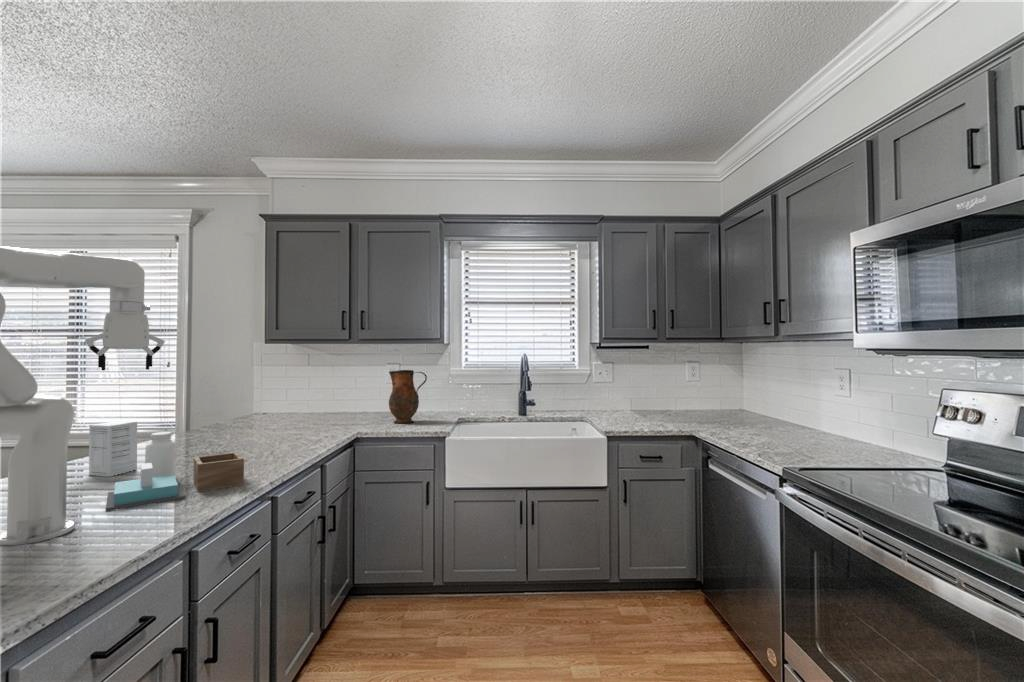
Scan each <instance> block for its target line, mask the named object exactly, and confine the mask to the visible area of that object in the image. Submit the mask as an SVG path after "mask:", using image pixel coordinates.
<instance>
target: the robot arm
mask: <svg viewBox="0 0 1024 682" xmlns="http://www.w3.org/2000/svg"><path fill="white" fill-rule="evenodd" d="M1 287H2V288H3V287H4V288H36V289H37V288H38V289H42V288H43V289H45V288H46V289H82V288H83V289H84V288H85V289H86V288H96V289H104V288H105V289H109V312H106V313H105V316H104V321H103V327H102V328H103V330H102V333H100V334H97V335H94V336H91V337H89V338H86V339H85V340H84V342H85V344H86V345H87V347H88V348H89V349H90V351H92V352H93V353H94V354H96V355H97V356H98V359H97V360H98V361H97V363H98V364H97V367H98V368H101V371H105V370H106V360H107V359H106V358H107V357H106V355H105V353H106V352H108V351H109V350H143V351H144V352H145V353H146V356H145V370H148V371H149V370H150V367H151V368H152V367H153V356H154V355H155V354H156V353H158V351H160V350H161V349H162V348H163V345H164V344H165V340H164V339H161V338H159V337H157V336H155V335H152V334H150V325H149V318H148V315H147V314H145V312H148V311H151V305H146V304H145V270H144V268H143V267H142V266H141V265H140V264H138V263H137V262H136V261H134V260H132V259H126V258H118V257H107V256H96V255H85V254H78V253H69V252H61V251H60V252H59V251H58V252H57V251H50V250H49V251H47V250H39V249H31V248H21V247H14V246H13V247H12V246H11V247H10V246H4V245H3V246H0V288H1ZM6 307H7V306H6V300H5V298H4V296H3V293H1V292H0V327H1V326H2V323H3V319H4V316H5V313H6ZM101 339H102V346H103V347H101V349H100V348H98V347H97V346H96V345H95V344H94V342H96V341H99V340H101ZM150 340H151V341H153V342H156V343H157V344H156V346H155V347H154V348H153V349H151V348H149V346H150ZM38 390H39V389H38V383H37V380H36V378H35V377H34V376H33V374H32V373H31V372H30V371H29V370H28V369H27V368H26V367H25V366H24V365H23V364H22V363H21V362H20V361H19V360H18V358H16V356H15V355H13V354H12V353H11V351H9V350H8V348H7V347H6V346H5V345H4V343H3V342H2V341H1V339H0V438H18V439H19V440H18V442H17V443H16V444H15V446H14V448H13V449H12V451H10V454H9V456H8V457H9V458H8V463H7V500H6V501H7V502H6V503H7V505H6V507H7V511H6V512H7V514H6V530H5V531H2V532H1V533H0V545H1V546H21V545H26V544H28V545H29V544H33V543H38V542H43V541H47V540H51V539H54V538H58V537H60V536H63V535H66V534H68V533H69V532H71V531H73V530H74V529H75V528H76V527H75V526H76V523H75V521H73V520H71V519H67V487H68V486H67V482H68V480H67V479H68V449H69V448H68V446H69V438H70V433H71V430H72V425H73V423H74V419H75V410H74V407H73V405H72V403H71V402H70V401H69V400H67V399H66V398H63V397H61V396H56V395H49V394H37V392H38Z"/></svg>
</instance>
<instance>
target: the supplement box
mask: <svg viewBox="0 0 1024 682" xmlns="http://www.w3.org/2000/svg"><path fill="white" fill-rule="evenodd" d="M88 428H89V431H88V433H89V435H88V436H89V437H88V438H89V441H88V443H89V447H88V476H95V477H96V476H97V477H104V478H105V477H106V478H110V477H114V475H115V476H118V474H119V475H122V474H121V473H123V474H126V472H127V473H130V472H129V471H131V472H134V471H133V470H136V471H138V421H127V420H126V421H124V420H115V421H109V422H102V423H101V422H100V423H94V424H89V427H88Z"/></svg>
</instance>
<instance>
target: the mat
mask: <svg viewBox="0 0 1024 682" xmlns="http://www.w3.org/2000/svg"><path fill="white" fill-rule="evenodd" d="M177 484H178V490H177V496H171V497H165V498H159V499H152V500H146V501H139V502H133V503H127V504H120V505H114V491H108V492H107V499H106V504H105V512H110V511H116V509H118V510H122V508H124V509H129V507H130V508H135V506H136V507H142V506H141V505H143V506H148V504H149V505H155V504H160V503H165V502H172V501H177V500H179V501H180V500H184V499H186V494H185V492H184V490H183V487H182V484H181V482H177ZM154 503H155V504H154Z"/></svg>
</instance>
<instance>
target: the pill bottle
mask: <svg viewBox="0 0 1024 682" xmlns="http://www.w3.org/2000/svg"><path fill="white" fill-rule="evenodd" d="M144 458H145V460H144V464H145V463H152V467H153V477H159V476H167V475H175V476H176V464H177V463H176V461H177V459H176V458H177V443H176V442H175V441H174V440H172V432H171V431H159V432H153V433H151V434H150V442H148V443H147V444H146V445H145V456H144Z"/></svg>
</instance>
